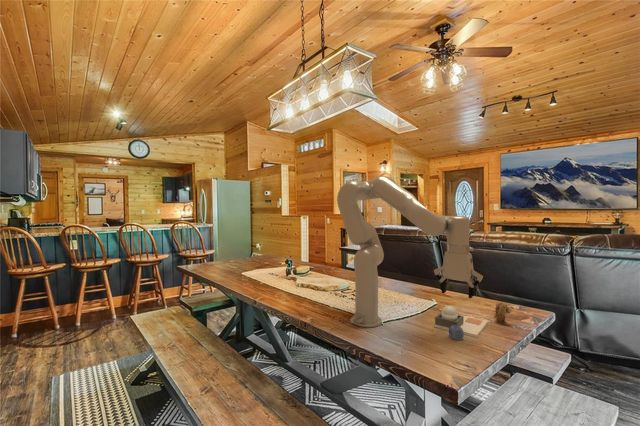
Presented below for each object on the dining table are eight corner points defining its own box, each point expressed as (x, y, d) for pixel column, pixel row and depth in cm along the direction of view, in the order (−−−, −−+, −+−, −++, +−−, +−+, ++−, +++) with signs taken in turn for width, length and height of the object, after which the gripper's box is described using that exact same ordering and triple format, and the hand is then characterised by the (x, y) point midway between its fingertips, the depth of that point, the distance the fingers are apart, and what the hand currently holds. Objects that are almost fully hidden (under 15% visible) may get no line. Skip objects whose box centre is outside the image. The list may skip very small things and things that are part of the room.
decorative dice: (458, 335, 124) (459, 325, 124) (463, 340, 120) (463, 329, 120) (448, 335, 124) (448, 325, 124) (452, 340, 120) (453, 329, 120)
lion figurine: (512, 327, 132) (512, 305, 132) (497, 325, 133) (498, 303, 133) (502, 314, 146) (503, 294, 146) (489, 313, 148) (490, 293, 147)
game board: (476, 337, 122) (476, 327, 122) (434, 326, 132) (434, 317, 132) (488, 323, 136) (488, 313, 135) (448, 314, 146) (449, 305, 146)
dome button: (454, 325, 128) (454, 309, 128) (439, 321, 132) (439, 306, 132) (459, 321, 133) (459, 305, 133) (444, 317, 137) (444, 302, 136)
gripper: (485, 250, 118) (484, 297, 118) (437, 245, 129) (437, 288, 129) (480, 253, 112) (479, 302, 113) (430, 248, 123) (430, 292, 124)
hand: (456, 294), depth 121 cm, fingers open, 9 cm apart
